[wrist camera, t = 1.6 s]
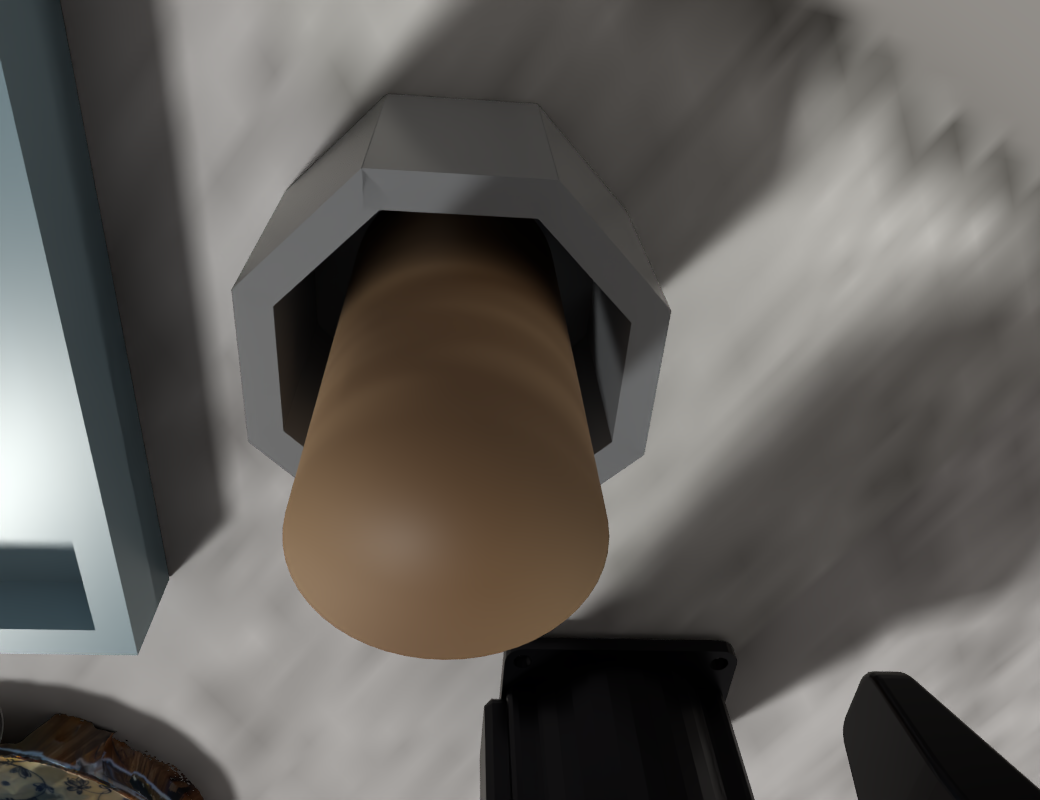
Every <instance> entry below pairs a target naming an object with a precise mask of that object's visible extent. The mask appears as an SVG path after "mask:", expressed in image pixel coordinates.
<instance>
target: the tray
mask: <svg viewBox="0 0 1040 800" xmlns="http://www.w3.org/2000/svg"><path fill="white" fill-rule="evenodd" d="M168 581H169V574H168V569H167V564H166V559H165V553H164V548H163V543H162V537H161V532H160V527H159V522H158V516H157V511H156V506H155V500H154V495H153V490H152V485H151V479H150V474H149V469H148V463H147V458H146V453H145V448H144V442H143V437H142V432H141V427H140V421H139V416H138V411H137V405H136V400H135V395H134V390H133V384H132V379H131V374H130V368H129V363H128V358H127V353H126V347H125V342H124V337H123V331H122V326H121V321H120V316H119V310H118V305H117V300H116V294H115V289H114V284H113V279H112V273H111V268H110V263H109V258H108V252H107V247H106V242H105V236H104V231H103V226H102V221H101V215H100V210H99V205H98V199H97V194H96V189H95V184H94V178H93V173H92V168H91V162H90V157H89V152H88V147H87V141H86V136H85V131H84V126H83V120H82V115H81V110H80V104H79V99H78V94H77V89H76V83H75V78H74V73H73V67H72V62H71V57H70V52H69V46H68V41H67V36H66V30H65V25H64V20H63V15H62V9H61V4H60V0H0V653H2V654H82V655H138V653H139V651H140V648H141V646H142V644H143V641H144V639H145V636H146V634H147V632H148V629H149V627H150V624H151V622H152V619H153V617H154V615H155V612H156V610H157V607H158V605H159V602H160V600H161V598H162V595H163V593H164V590H165V588H166V586H167V583H168Z"/></svg>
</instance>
